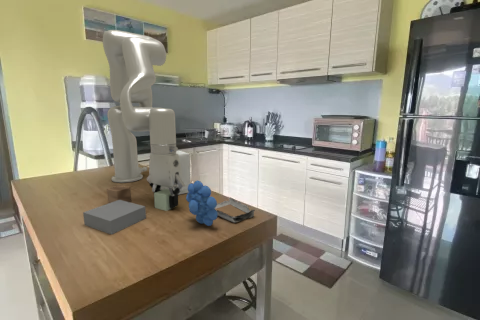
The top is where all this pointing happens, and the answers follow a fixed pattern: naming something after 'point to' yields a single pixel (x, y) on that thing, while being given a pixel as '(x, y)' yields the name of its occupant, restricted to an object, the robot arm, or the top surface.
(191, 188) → the grapes
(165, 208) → the sage cube
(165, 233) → the top surface
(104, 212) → the base block
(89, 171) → the top surface
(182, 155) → the supplement box
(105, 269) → the top surface
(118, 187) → the walnut cube
